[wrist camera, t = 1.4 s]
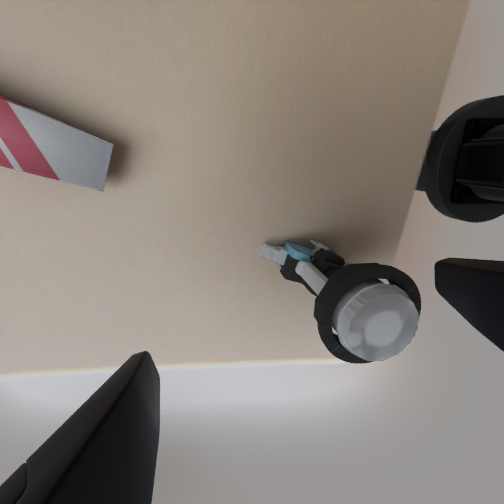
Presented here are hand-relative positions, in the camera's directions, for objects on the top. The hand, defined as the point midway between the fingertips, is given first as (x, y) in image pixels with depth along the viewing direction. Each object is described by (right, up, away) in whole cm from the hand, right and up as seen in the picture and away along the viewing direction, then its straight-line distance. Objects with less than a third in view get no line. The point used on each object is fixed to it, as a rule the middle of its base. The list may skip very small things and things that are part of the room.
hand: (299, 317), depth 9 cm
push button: (+2, +2, +14) cm, 14 cm away
